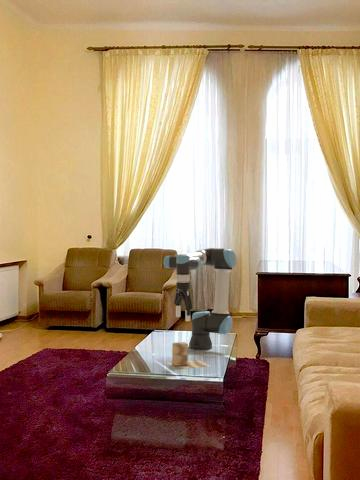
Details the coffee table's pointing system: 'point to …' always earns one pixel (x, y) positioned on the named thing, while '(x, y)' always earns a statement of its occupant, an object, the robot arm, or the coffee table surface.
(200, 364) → the board
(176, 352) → the block
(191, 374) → the coffee table surface
